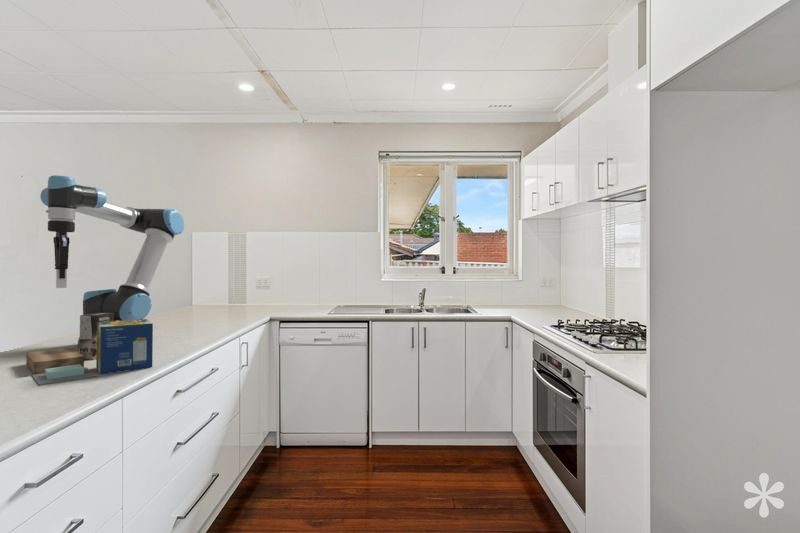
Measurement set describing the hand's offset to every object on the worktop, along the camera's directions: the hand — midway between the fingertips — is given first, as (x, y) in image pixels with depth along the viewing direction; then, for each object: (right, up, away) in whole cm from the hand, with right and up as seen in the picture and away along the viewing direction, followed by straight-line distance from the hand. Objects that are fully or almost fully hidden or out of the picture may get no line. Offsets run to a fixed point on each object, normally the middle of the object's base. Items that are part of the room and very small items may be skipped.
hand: (61, 287), depth 154 cm
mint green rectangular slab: (+13, -25, -15) cm, 32 cm away
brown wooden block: (+1, -27, -5) cm, 27 cm away
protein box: (+25, -27, -4) cm, 37 cm away
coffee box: (+6, -27, +10) cm, 29 cm away
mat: (+13, -27, -16) cm, 34 cm away
